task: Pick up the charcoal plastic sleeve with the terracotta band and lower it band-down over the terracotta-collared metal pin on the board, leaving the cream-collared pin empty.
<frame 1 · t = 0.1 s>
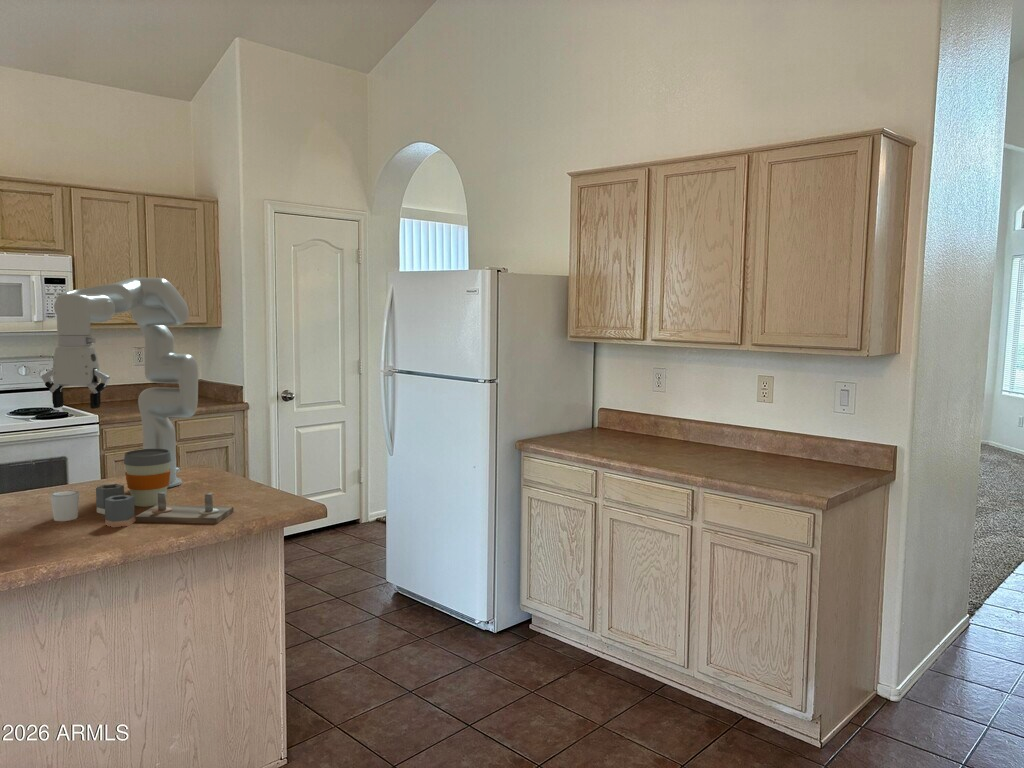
hand: (76, 407, 199), 31 cm above the countertop, fingers open, 9 cm apart
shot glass: (65, 519, 208), on the countertop
reusable coffee cup: (149, 503, 225), on the countertop
terracotta-banded sleeve: (120, 523, 204), on the countertop
pin board: (185, 516, 211), on the countertop
cream-banded sleeve: (110, 511, 216), on the countertop
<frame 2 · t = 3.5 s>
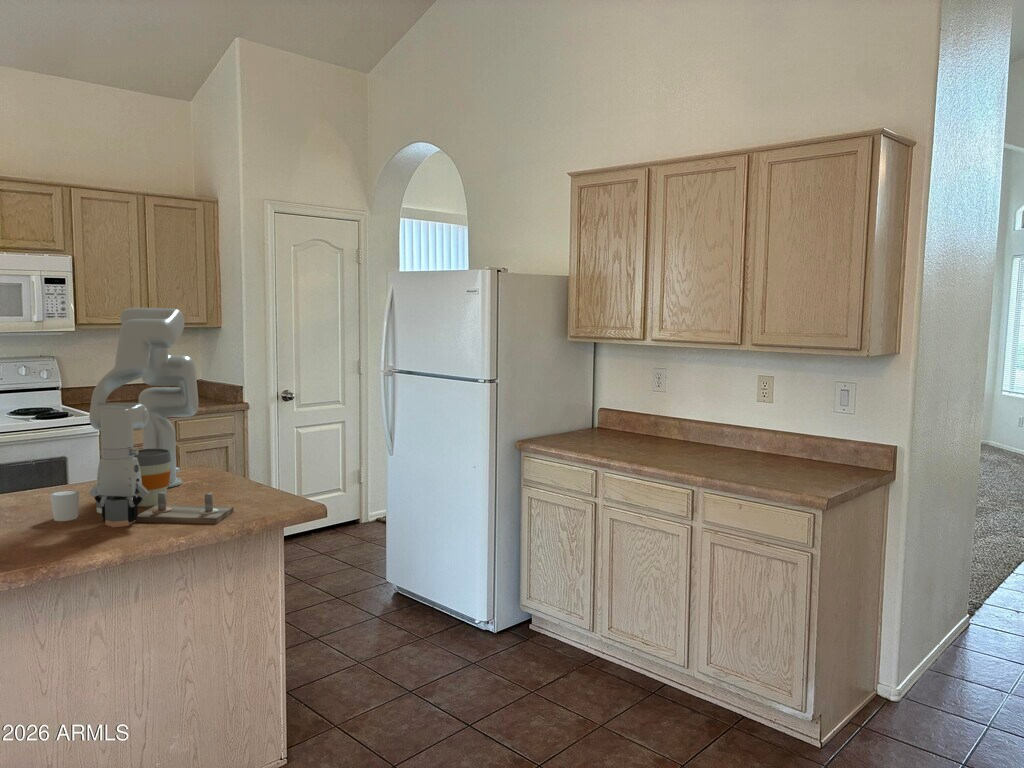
hand: (120, 519, 203), 1 cm above the countertop, fingers closed on terracotta-banded sleeve, 6 cm apart
terracotta-banded sleeve: (120, 523, 204), on the countertop, touching gripper
everything else where it was.
when the fingers open (4 cm above the countertop, at t = 9.3 s): terracotta-banded sleeve stays where it is, resting on pin board.
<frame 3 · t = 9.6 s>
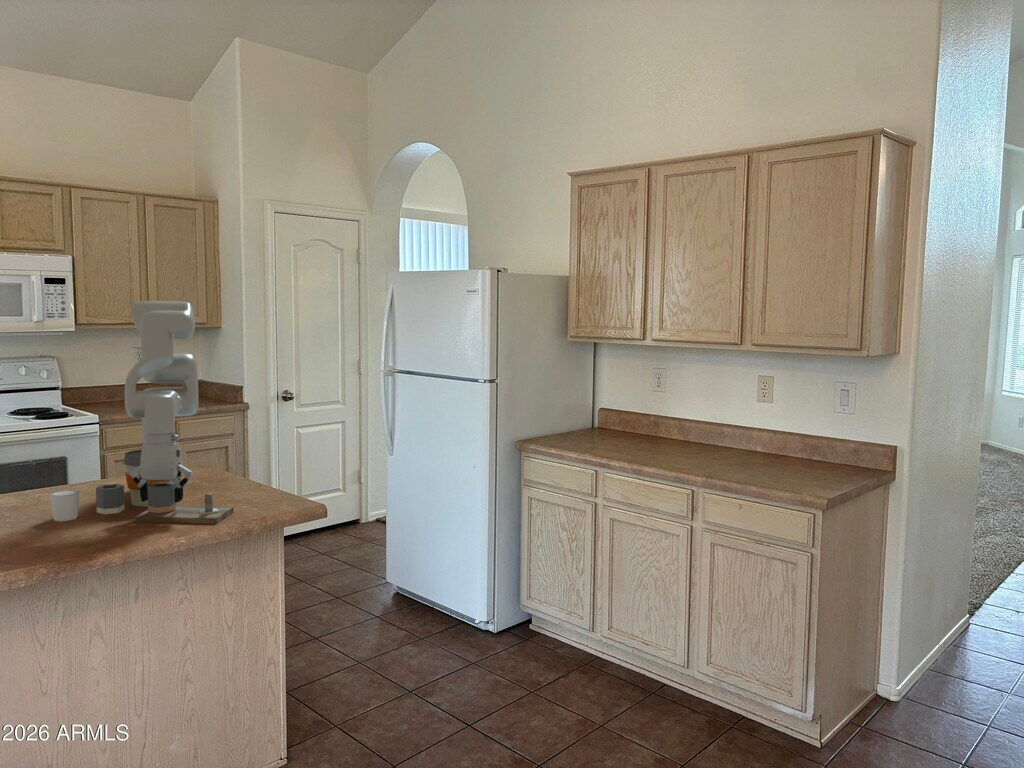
hand: (161, 500, 211), 4 cm above the countertop, fingers open, 8 cm apart
terracotta-banded sleeve: (162, 509, 211), point 2 cm above the countertop, touching pin board
everything else where it was.
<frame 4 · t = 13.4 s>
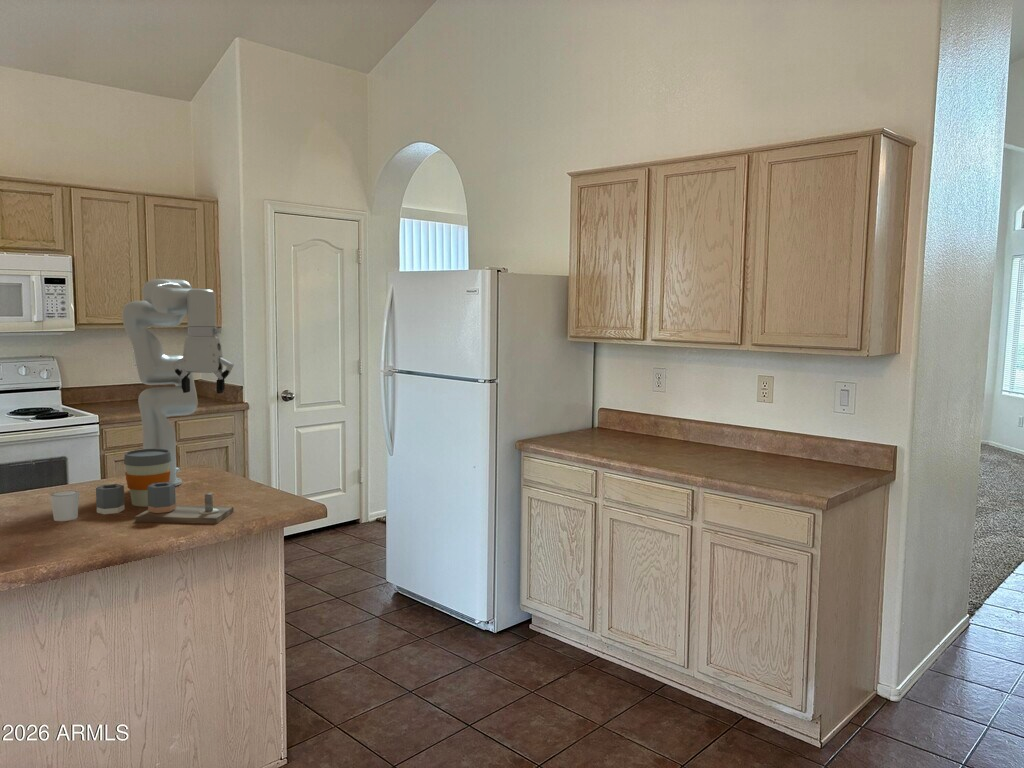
hand: (203, 392, 219), 33 cm above the countertop, fingers open, 9 cm apart
nothing on the countertop moved.
at the end: terracotta-banded sleeve 0.0 cm from the target spot on the pin board, point 1.8 cm above the pin board's base; terracotta-banded sleeve tilted 0°; the gripper is holding nothing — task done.
